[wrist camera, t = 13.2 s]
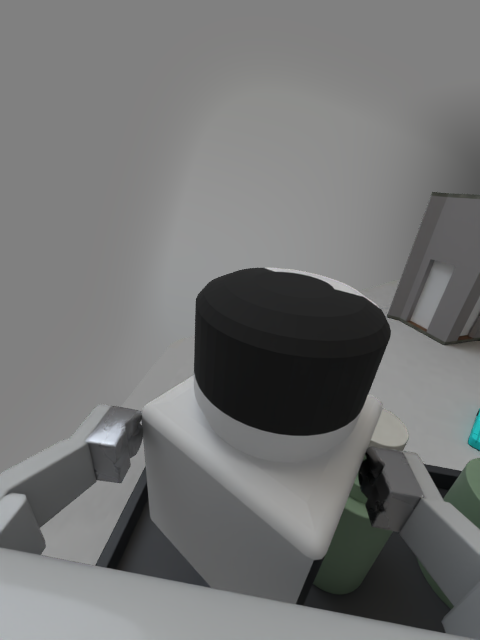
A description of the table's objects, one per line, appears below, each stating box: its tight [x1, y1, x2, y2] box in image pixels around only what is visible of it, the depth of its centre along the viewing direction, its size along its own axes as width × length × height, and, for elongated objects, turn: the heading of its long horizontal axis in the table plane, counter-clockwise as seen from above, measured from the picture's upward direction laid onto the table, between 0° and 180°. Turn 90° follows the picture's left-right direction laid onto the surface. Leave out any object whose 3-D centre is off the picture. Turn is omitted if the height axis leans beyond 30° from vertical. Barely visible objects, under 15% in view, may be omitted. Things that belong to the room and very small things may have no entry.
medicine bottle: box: [142, 268, 391, 606], centre depth 11 cm, size 7×7×12 cm
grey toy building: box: [387, 192, 480, 345], centre depth 54 cm, size 21×10×28 cm, turn 62°
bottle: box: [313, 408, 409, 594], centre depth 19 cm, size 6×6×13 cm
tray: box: [95, 464, 462, 633], centre depth 21 cm, size 32×16×2 cm, turn 82°
